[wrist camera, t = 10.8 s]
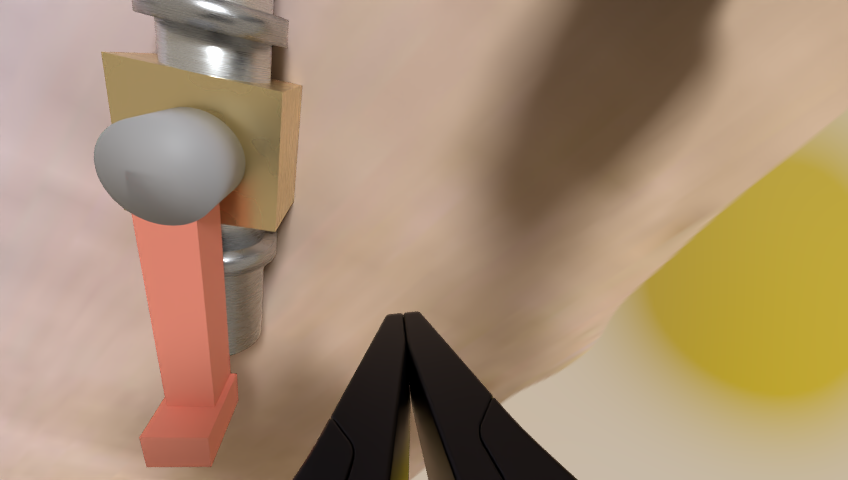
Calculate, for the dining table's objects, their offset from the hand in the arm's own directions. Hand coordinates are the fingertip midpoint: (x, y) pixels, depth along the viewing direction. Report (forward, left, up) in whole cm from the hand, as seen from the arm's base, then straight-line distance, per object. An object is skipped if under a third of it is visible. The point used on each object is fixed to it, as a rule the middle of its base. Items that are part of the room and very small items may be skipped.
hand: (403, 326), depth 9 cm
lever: (+8, +5, -8) cm, 12 cm away
